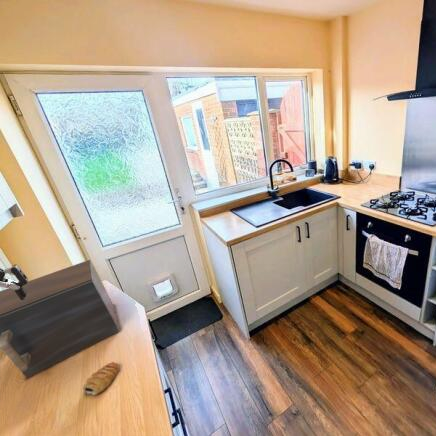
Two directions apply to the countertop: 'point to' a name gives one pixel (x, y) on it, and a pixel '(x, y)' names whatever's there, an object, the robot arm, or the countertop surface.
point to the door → (55, 328)
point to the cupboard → (55, 288)
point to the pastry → (101, 379)
